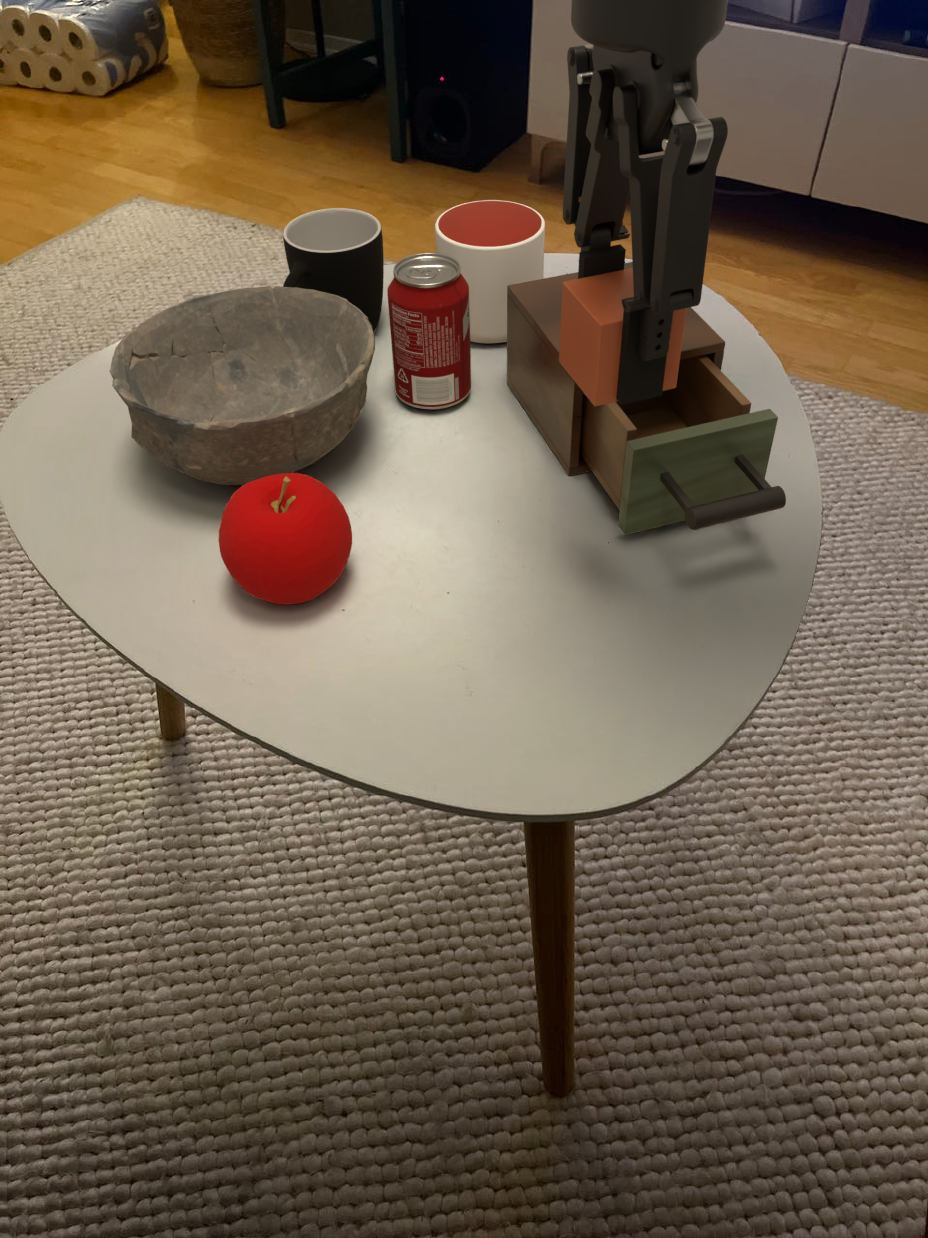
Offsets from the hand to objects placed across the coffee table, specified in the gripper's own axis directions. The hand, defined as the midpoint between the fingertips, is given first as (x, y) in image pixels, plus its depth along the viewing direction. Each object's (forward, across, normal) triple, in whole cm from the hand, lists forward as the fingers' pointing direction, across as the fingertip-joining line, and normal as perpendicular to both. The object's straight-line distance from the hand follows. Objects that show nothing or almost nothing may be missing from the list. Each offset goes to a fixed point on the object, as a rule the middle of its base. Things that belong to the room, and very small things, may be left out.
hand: (616, 370), depth 66 cm
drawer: (+16, +6, -9) cm, 19 cm away
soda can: (+17, +26, +4) cm, 32 cm away
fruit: (+17, +7, +21) cm, 28 cm away
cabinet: (+17, +18, -9) cm, 26 cm away
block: (0, 0, 0) cm, 0 cm away
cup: (+17, +36, -5) cm, 40 cm away
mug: (+17, +40, +10) cm, 44 cm away
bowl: (+17, +24, +20) cm, 35 cm away
